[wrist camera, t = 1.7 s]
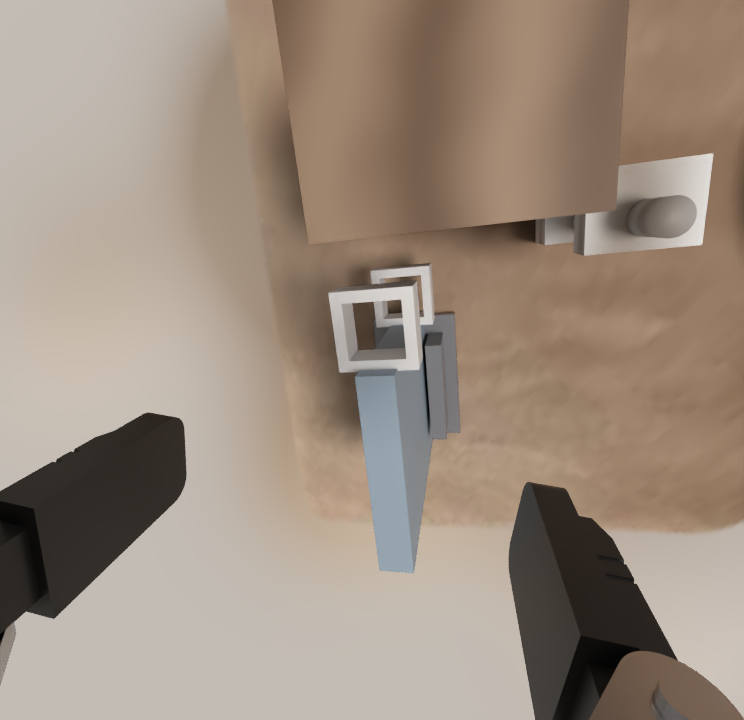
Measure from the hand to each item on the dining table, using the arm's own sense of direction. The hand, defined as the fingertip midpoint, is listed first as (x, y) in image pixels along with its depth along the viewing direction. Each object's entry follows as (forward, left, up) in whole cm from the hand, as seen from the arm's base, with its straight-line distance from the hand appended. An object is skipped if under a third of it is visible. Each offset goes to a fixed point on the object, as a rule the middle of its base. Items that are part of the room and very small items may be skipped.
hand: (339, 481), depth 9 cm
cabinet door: (+2, +5, -27) cm, 27 cm away
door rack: (+2, +7, -28) cm, 29 cm away
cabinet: (-5, -9, -28) cm, 30 cm away
